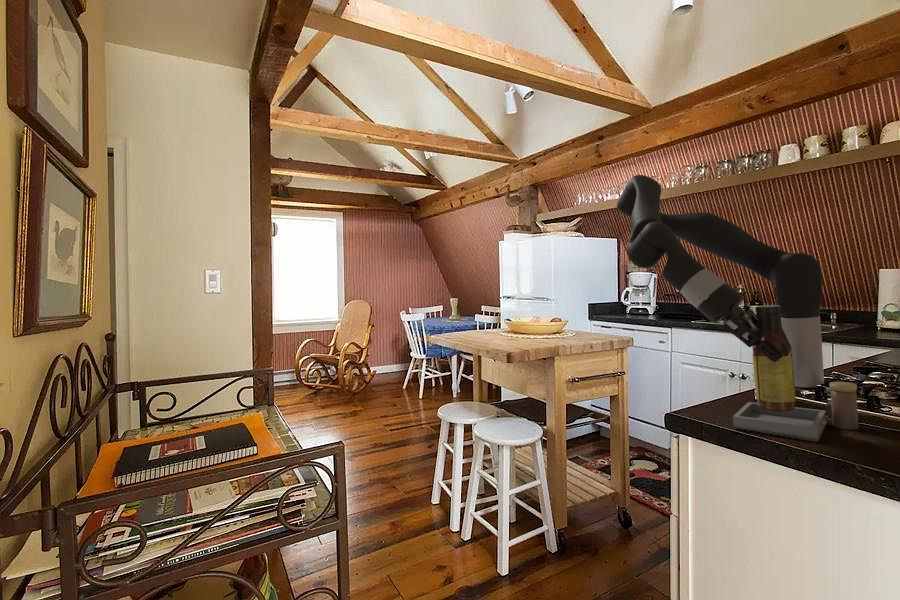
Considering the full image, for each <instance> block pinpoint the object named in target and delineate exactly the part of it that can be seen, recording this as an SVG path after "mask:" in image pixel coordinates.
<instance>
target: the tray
mask: <svg viewBox="0 0 900 600" xmlns="http://www.w3.org/2000/svg"><path fill="white" fill-rule="evenodd" d="M732 423H733V424H732V425H733V428H734V427H736V428H742V429H748V430H752V431H758V432H763V433H769V434H774V435H773V436H775V435H780V436H779V437H782V436H785V437H784V438H789V437H791V439H795V438H796V440H803V441H809V442H817V443H818V442H819V439H820V438H821V436H822V434H823V433H824V429H825V427H826V425H827V423H828V422H827V410H824V409H823V410H822V409H817V408H816V409H814V408H805V407H798V406H797V407H796V406H795V409H793V410H792V411H781V412H780V411H770V410H765V409H762V408H760V407H759V406H758V405H757V402H752V401H748V402H747V403H746V404H745V405H743V406H742V407H741V408H740V409H739V410H738V411H737V412H736V413H735V414H733V416H732ZM769 434H768V435H769Z"/></svg>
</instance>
